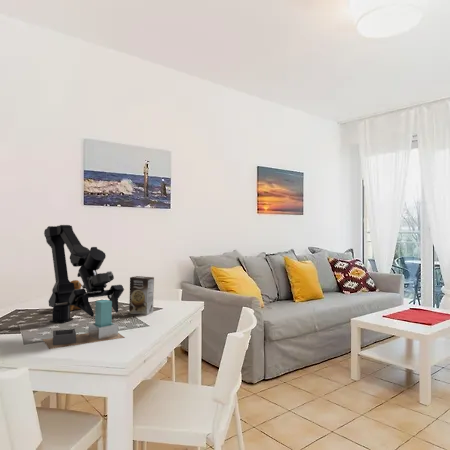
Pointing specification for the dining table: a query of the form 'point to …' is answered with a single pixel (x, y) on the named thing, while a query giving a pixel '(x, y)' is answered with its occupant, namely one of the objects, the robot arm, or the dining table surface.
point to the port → (103, 331)
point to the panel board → (79, 340)
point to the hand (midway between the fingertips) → (105, 314)
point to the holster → (64, 336)
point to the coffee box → (141, 295)
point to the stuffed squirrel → (76, 286)
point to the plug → (103, 313)
